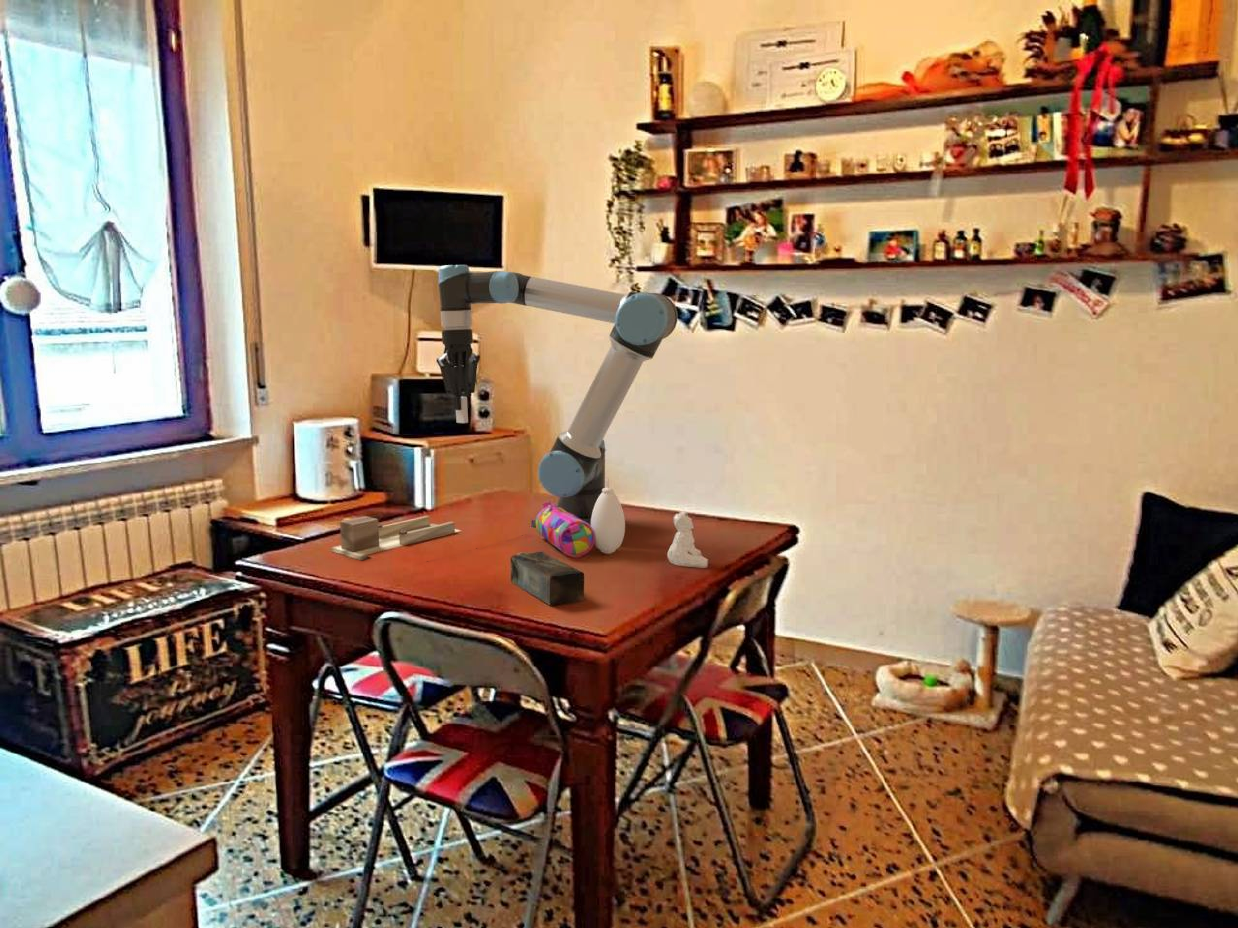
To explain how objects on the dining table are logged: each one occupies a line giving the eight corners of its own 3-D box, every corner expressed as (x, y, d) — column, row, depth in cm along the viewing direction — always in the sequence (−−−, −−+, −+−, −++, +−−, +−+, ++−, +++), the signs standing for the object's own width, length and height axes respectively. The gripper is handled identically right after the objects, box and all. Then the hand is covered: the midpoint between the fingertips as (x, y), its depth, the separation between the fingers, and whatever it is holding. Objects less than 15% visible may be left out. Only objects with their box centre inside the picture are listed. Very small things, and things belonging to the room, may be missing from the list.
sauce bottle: (606, 546, 227) (606, 472, 224) (631, 552, 222) (631, 477, 219) (584, 553, 221) (583, 477, 218) (609, 559, 216) (609, 482, 213)
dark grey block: (543, 576, 204) (543, 547, 203) (586, 602, 188) (586, 570, 186) (509, 582, 200) (508, 552, 199) (550, 608, 184) (550, 576, 182)
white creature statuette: (709, 568, 210) (711, 515, 207) (671, 570, 208) (672, 517, 206) (699, 556, 219) (700, 506, 217) (662, 558, 217) (663, 507, 215)
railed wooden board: (461, 534, 238) (461, 518, 237) (360, 560, 215) (359, 542, 214) (432, 527, 245) (432, 511, 244) (331, 551, 222) (330, 534, 222)
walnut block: (379, 546, 223) (378, 519, 222) (353, 552, 218) (352, 524, 217) (366, 542, 227) (365, 516, 225) (341, 548, 221) (340, 521, 220)
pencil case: (530, 538, 235) (529, 503, 233) (565, 534, 238) (565, 499, 237) (560, 561, 215) (560, 522, 213) (598, 556, 219) (598, 518, 217)
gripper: (465, 327, 243) (470, 418, 247) (426, 329, 233) (432, 424, 237) (486, 327, 238) (491, 420, 242) (447, 329, 228) (453, 426, 232)
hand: (462, 422), depth 240 cm, fingers closed
